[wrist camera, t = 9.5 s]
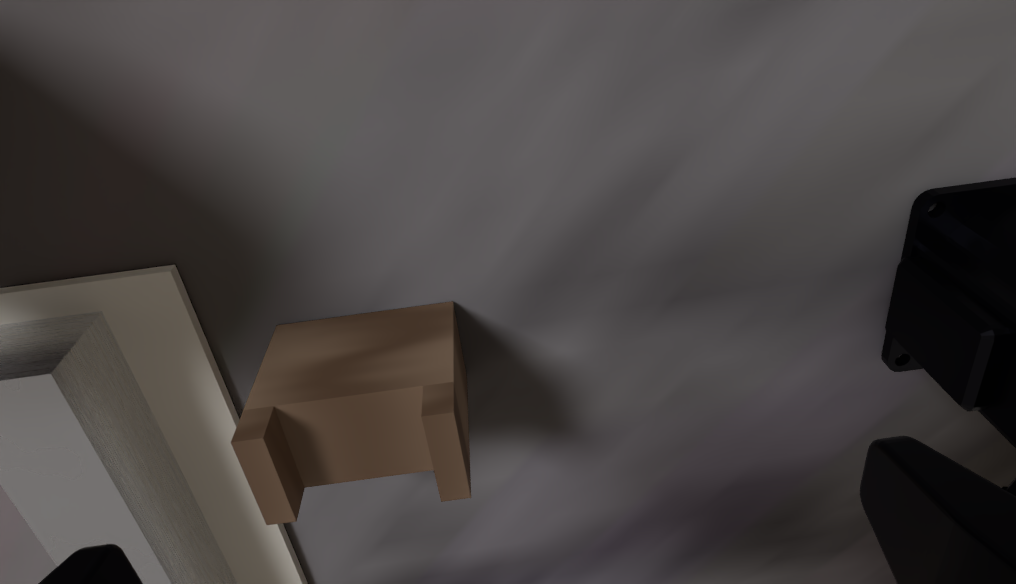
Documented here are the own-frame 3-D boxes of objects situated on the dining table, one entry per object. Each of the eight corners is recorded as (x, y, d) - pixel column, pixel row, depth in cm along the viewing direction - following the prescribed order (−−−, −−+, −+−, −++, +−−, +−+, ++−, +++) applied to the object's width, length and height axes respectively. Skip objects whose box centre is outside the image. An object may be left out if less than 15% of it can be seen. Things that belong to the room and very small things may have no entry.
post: (453, 301, 21) (454, 412, 17) (467, 377, 23) (470, 497, 18) (276, 325, 21) (230, 442, 17) (302, 399, 23) (266, 525, 18)
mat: (175, 264, 20) (170, 270, 20) (360, 709, 32) (359, 717, 32) (-99, 301, 20) (-109, 308, 20) (191, 732, 32) (188, 741, 32)
